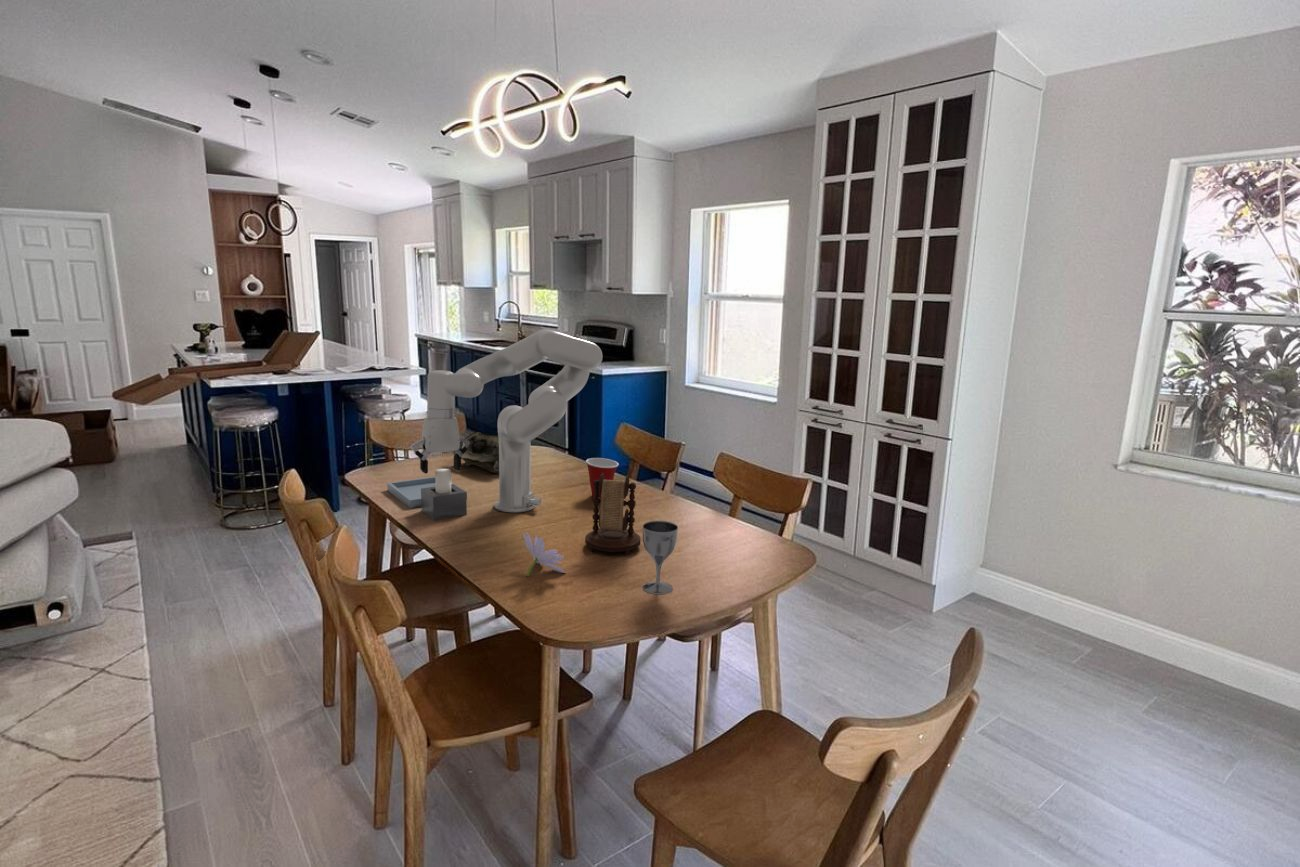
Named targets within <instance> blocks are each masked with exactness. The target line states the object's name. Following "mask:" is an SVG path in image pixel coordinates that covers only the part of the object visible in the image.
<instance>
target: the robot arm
mask: <svg viewBox="0 0 1300 867" xmlns="http://www.w3.org/2000/svg"><path fill="white" fill-rule="evenodd" d="M546 360H550V361H553V362H556V363H558V364H562V365H564V366H563V368H562V369H561V370H560V371H559V372H558V373H557V374H556V375H554V376H553V377H551V378H549V380H547V381H546V382H545V383H543V384H542V385H540V386H538V387H537V388H535V389H534V390H533V391H532V392H531V393H530V395H529V397H528V404H526V405H525V406H523V407H522V406H519V405H516V404H515V405H508V406H506V407H504V408H503V409H502V410H501V411H500V413H499V414H498V418H497V424H496V425H497V436H498V438H499V474H498V479H499V480H498V485H499V486H498V487H499V489H498V492H499V495H498V497H499V499H497V500H495V502H494V503H493V506H494V507H493V508H494V509H495V510H497V511H499V512H504V513H523V512H528V511H531V510H533V509H535V507H536V506H538V507H540V506H542V498H541V497H535V495H534V494H535V493H534V491H531V489H532V488H531V484H532V483H531V480H532V479H531V471H532V470H531V467H532V465H531V464H532V462H531V459H532V458H531V456H532V451H531V450H532V448H531V442H532V441H533V440H534V439H536V438H537V437H539V436H540V435H541V434H543V433H544V432H546V431H547V430H549V428H551V427H553V426H554V425H556V424H557V423H558V422H559V421H560V420H561V419H562V418H563V417H564V415H565V413H566V412H567V408H568V401H570V400H571V399H572V398H573V397H575V396H577V394H578V393H580V392H581V391H582V390H583V388H584V387H585V385H586V384H587V382H588V380H589V376H590V373H591V371H593V370H596V369H597V368H599V366H600V365H601V364H602V361H603V351H602V349H601V348H600V346H599V345H597V344H596V343H594V342H591V341H587V340H586V339H581V338H577V337H573V336H571V335H568V334H565V333H562V332H559V331H556V330H554V329H548V328H545V329H540V330H538V331H536V332H534V333H532V334H530V335H528V336H527V337H524V338H523V339H520V340H519V341H517V342H515V343H512V344H511V345H508V346H507V347H504V348H502V349H500V350H497V351H495V352H493V353H490V354H487V355H486V356H484V357H481V358H479V359H476V360H475V361H473V362H471V363H469V364H467V365H465V366H463V367H461V368H459V369H457V371H456V372H452V371H449V370H442V369H439V370H431V371H429V372H428V374H427V417H424V418H423V419H424V420H423V424H422V431H421V439H419V440H417V441H416V442H413V443H412V444H410V448H411V450H412V451H413V453H414V455H416V456H417V457H418V458H419V461H420V464H419V468H420V470H421V472H422V473H424V474H428V473H429V461H428V457H429V456H430V454H439V453H441V454H442V453H451V452H452V453H453V452H454V453H455V455H454V454H453V469H455V470H457V471H460V470H461V466H462V459H461V457H462V456H463V454H464V453H465V451H466V450H467V447H468V446H469V444H470V441H468V440H466V439H465V437H464V438H463V437H462V436H460V430H459V422H458V419H457V417H456V414H459V413H460V409H459V408H456V406H455V403H456V399H455V398H456V397H459V398H460V397H461V398H465V399H467V398H469V399H471V398H476V397H478V396H479V395H480V394H482V392H483V390H484V385H485V384H487V383H489V382H491V381H494V380H497V379H498V378H503V377H513V376H516V375H519V374H521V373H523V372H525V371H527V370H528V369H531V368H533V367H534V366H536V365H538V364H540V363H542V362H544V361H546ZM460 442H463V446H462V447H461V448H460V449H459V445H460ZM419 447H421V450H422V451H420V450H419Z"/></svg>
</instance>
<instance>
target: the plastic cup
mask: <svg viewBox="0 0 1300 867" xmlns="http://www.w3.org/2000/svg"><path fill="white" fill-rule="evenodd" d="M585 462H586V464H587V470H588V476H589V485H590V490H591V495H592V497H595V496H594V491H595V489H594V487H595V486H594V485H593V482H594V481H595V480H600V476H601V474H602V473H603V474H604V479H605V480H614V478H615V473H616V471H617V468H618V466H619V462H618V461H616V460H613V459H610V458H602V457H591V458H587V459H586V460H585ZM598 490H599V489H598ZM599 498H600V499H601V494H600V493H599Z"/></svg>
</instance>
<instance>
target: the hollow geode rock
mask: <svg viewBox="0 0 1300 867" xmlns="http://www.w3.org/2000/svg"><path fill="white" fill-rule="evenodd" d="M464 439H466V440H468V441H470V444H469V446H468V447H467V450H466V451H465V453H464V454H463V456H462V457H461V461H462V460H463V461H464V465H465V466H472V465H475V466H478V467H480V468H482V469H484V470H486V471H488V472H491V473H493V474H497V475H499V438H498V435H493V434H492V435H488V434H486V433H481V432H480V431H474V432H472V433H470V434H469V435H467V436H465V437H464ZM462 446H463V442H461V441H460V445H459V449H460V448H461V447H462ZM452 454H453V456H454V455H455V453H454V452H453V451H452Z"/></svg>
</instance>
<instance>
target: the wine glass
mask: <svg viewBox="0 0 1300 867" xmlns="http://www.w3.org/2000/svg"><path fill="white" fill-rule="evenodd" d="M678 529H679V528H678V525H677V524H676V523H674V522H672V521H667V520H651V521H650V520H649V521H646V522H645V523H643V525H642V540H643V547H644V550H645V551H646V553H647V554H648V555H649V556H650V557H651V559H652V561H653V562H654V564H655V570H656V574H655V575H656V580H651V581H648V582H645V583H644V584H642V586H641V587H642V590H643V591H645V592H646V593H648V594H651V595H665V594H669V593H671V592H672V591H673V590H674V587H673V585H671V584H670V583H668V582H664V581H662V580H660V579H661V578H660V577H661V576H660V575H661V569H662V565H663V563H664V562H665V561H666V559H667V558H668V557H669V556H670V555H672V553H674V550H675V548H676V544H677V540H678V532H679V531H678Z"/></svg>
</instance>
